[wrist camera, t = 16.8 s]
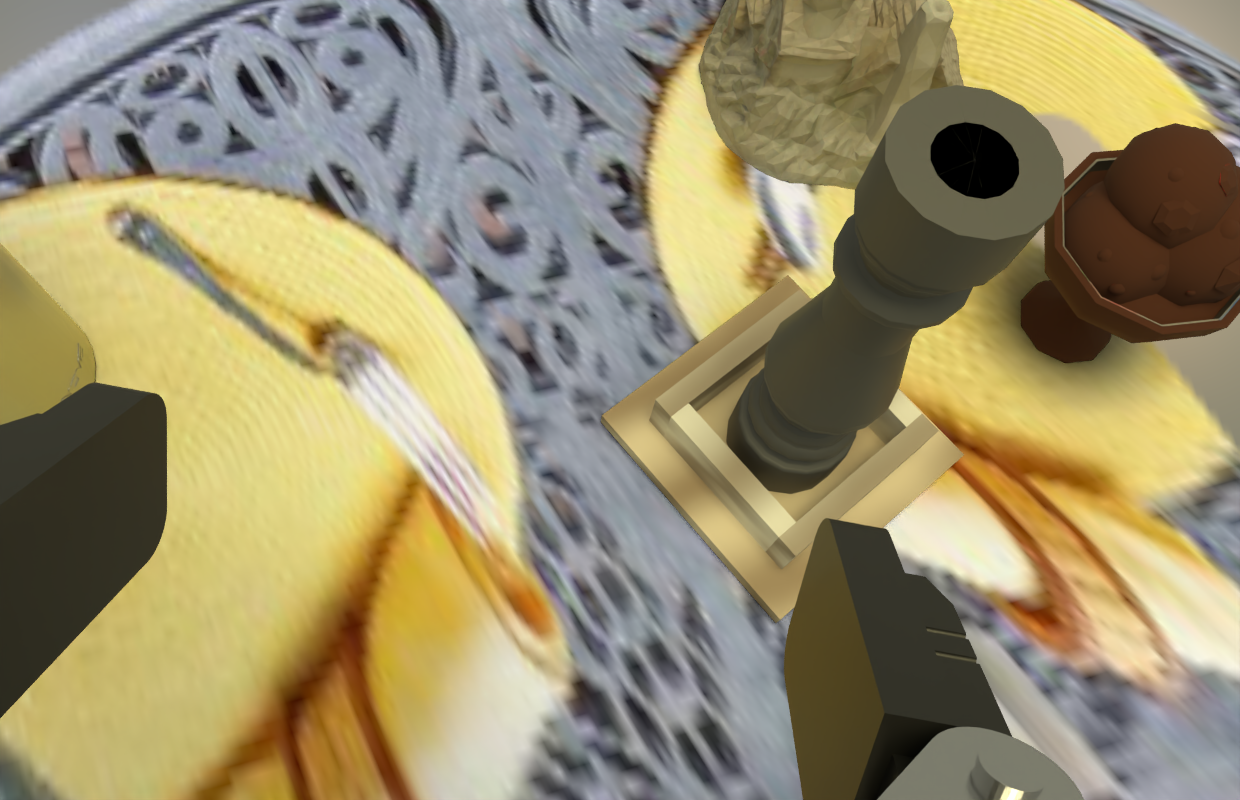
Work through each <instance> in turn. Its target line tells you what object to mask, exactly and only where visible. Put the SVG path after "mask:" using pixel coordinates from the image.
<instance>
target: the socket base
mask: <svg viewBox="0 0 1240 800" xmlns="http://www.w3.org/2000/svg"><path fill="white" fill-rule="evenodd" d="M811 300H812V299H811V298H810V297H809V296H808V295H807V294H806V293H805V292H804V291H803V290H802V289H801V288H800V287H799V286H798V285H797V284H796V283H795V282H794V281H793V280H792V279H791V278H790V277H789V276H786V277H785V278H784V279H782V280H781V281H780V282H778V283H777V284H776V285H774V286H773V287H772V288H770V289H769V290H768V291H766V292H765V293H764V294H762V295H761V296H760V297H758V298H757V299H756V300H755V301H753V302H752V303H751V304H749V305H748V306H747V307H745V308H744V309H743V310H741V311H740V312H739V313H737V314H736V315H735V316H733V317H732V318H731V319H729V320H728V321H727V322H725V323H724V324H723V325H721V326H720V327H719V328H717V329H716V330H715V331H713V332H712V333H711V334H709V335H708V336H707V337H705V338H704V339H703V340H701V341H700V342H699V343H697V344H696V345H695V346H693V347H692V348H691V349H689V350H688V351H687V352H686V353H684V354H683V355H682V356H680V357H679V358H678V359H676V360H675V361H674V362H672V363H671V364H670V365H668V366H667V367H666V368H664V369H663V370H662V371H660V372H659V373H658V374H656V375H655V376H654V377H652V378H651V379H650V380H648V381H647V382H646V383H644V384H643V385H642V386H640V387H639V388H638V389H636V390H635V391H634V392H632V393H631V394H630V395H628V396H627V397H626V398H624V399H623V400H622V401H621V402H619V403H618V404H617V405H615V406H614V407H613V408H611V409H610V410H609V411H607V412H606V413H605V414H603V415H602V418H601V423H602V424H603V425H604V426H605V428H606V429H607V430H608V431H609V432H610V433H611V434H612V436H613V437H614V438H615V439H616V440H617V441H618V442H619V444H620V445H621V446H622V447H623V448H624V449H625V451H626V452H627V453H628V454H629V455H630V456H631V457H632V459H633V460H634V461H635V462H636V463H637V464H638V465H639V467H640V468H641V469H642V470H643V471H644V472H645V473H646V475H647V476H648V477H649V478H650V479H651V480H652V482H653V483H654V484H655V485H656V486H657V487H658V488H659V490H660V491H661V492H662V493H663V494H664V495H665V496H666V498H667V499H668V500H669V501H670V502H671V503H672V504H673V506H674V507H675V508H676V509H677V510H678V511H679V513H680V514H681V515H682V516H683V517H684V518H685V519H686V521H687V522H688V523H689V524H690V525H691V526H692V527H693V529H694V530H695V531H696V532H697V533H698V534H699V535H700V537H701V538H702V539H703V540H704V541H705V542H706V544H707V545H708V546H709V547H710V548H711V549H712V550H713V552H714V553H715V554H716V555H717V556H718V557H719V558H720V560H721V561H722V562H723V563H724V564H725V565H726V567H727V568H728V569H729V570H730V571H731V572H732V573H733V575H734V576H735V577H736V578H737V579H738V580H739V581H740V583H741V584H742V585H743V586H744V587H745V588H746V589H747V591H748V592H749V593H750V594H751V595H752V596H753V598H754V599H755V600H756V601H757V602H758V603H759V604H760V606H761V607H762V608H763V609H764V610H765V611H766V612H767V614H768V615H769V616H770V617H771V618H772V619H773V620H774V622H775V623H777V622H778V621H779V620H781V619H782V618H783V617H784V616H785V615H786V614H787V613H788V612H789V611H791V610H792V609H793V608H794V607H795V604H796V601H797V597H798V594H799V591H800V587H801V584H802V580H803V577H804V573H805V570H806V566H807V563H808V559H809V556H810V553H811V549H812V546H813V542H814V539H815V536H816V533H817V530H818V528H819V526H820V524H821V522H822V521H823V520H824V519H825V518H829V519H835V520H840V521H846V522H851V523H857V524H862V525H868V526H873V527H879V528H883V527H884V526H885V525H886V524H887V523H889V522H890V521H891V520H892V519H893V518H894V517H895V516H896V515H898V514H899V513H900V512H901V511H902V510H903V509H904V508H905V507H906V506H908V505H909V504H910V503H911V502H912V501H913V500H914V499H915V498H916V497H918V496H919V495H920V494H921V493H922V492H923V491H924V490H925V489H926V488H928V487H929V486H930V485H931V484H932V483H933V482H934V481H935V480H936V479H938V478H939V477H940V476H941V475H942V474H943V473H944V472H945V471H947V470H948V469H949V468H950V467H951V466H952V465H953V464H954V463H955V462H957V461H958V460H959V459H960V458H961V457H962V456H963V455H964V454H963V453H962V452H961V451H960V450H959V449H958V448H957V447H956V446H955V445H954V444H953V443H952V442H951V441H950V440H949V439H948V438H947V437H946V436H945V435H944V434H943V433H942V432H941V431H940V430H939V429H938V428H937V427H936V426H935V425H934V424H933V423H932V422H931V421H930V420H929V419H928V418H927V417H926V416H925V415H924V413H923V412H922V411H921V410H920V409H919V408H918V407H917V406H916V405H915V404H914V403H913V402H912V401H911V400H910V399H909V398H908V397H907V396H906V395H905V394H904V393H903V392H902V391H901V390H900V389H899V388H898V390H897V392H896V394H895V396H894V398H893V400H892V402H891V404H890V406H889V408H888V410H887V411H886V412H885V413H884V414H883V415H881V416H880V417H879V418H877V419H876V420H875V421H873V422H872V423H871V424H870V425H868V426H867V427H866V428H864V429H860V430H858V431H857V433H856V438H855V440H854V442H853V444H852V446H851V448H850V450H849V452H848V454H847V456H846V457H845V458H844V459H843V461H842V462H841V463H840V464H839V465H838V466H837V467H836V468H835V469H834V470H833V472H832V473H831V474H830V475H829V476H828V477H827V478H825V479H824V480H823V481H821V482H820V483H819V484H818V485H816V486H815V487H814V488H812V489H809V490H805V491H801V492H797V493H793V494H786V493H779V492H772V491H768V490H767V489H766V488H765V487H764V486H763V485H762V484H761V483H760V481H759V480H758V479H757V478H756V477H755V476H754V475H753V474H752V473H751V472H750V470H749V469H748V468H747V467H746V466H745V465H744V464H743V463H742V462H741V460H740V459H739V458H738V457H737V456H736V455H735V454H734V453H733V452H732V451H731V449H730V448H729V447H728V445H727V442H726V439H727V428H728V420H729V418H730V416H731V414H732V412H733V410H734V408H735V406H736V404H737V402H738V400H739V398H740V396H741V395H742V393H743V391H744V389H745V388H746V386H747V384H748V382H749V381H750V379H751V378H752V377H754V376H755V375H757V374H758V373H759V372H760V370H761V369H763V368H764V363H765V350H766V347H767V345H768V343H769V342H770V340H771V338H772V336H773V335H774V333H775V331H776V329H777V328H778V326H779V324H780V323H781V322H782V321H784V320H785V319H786V318H788V317H789V316H790V315H792V314H793V313H795V312H796V311H797V310H799V309H800V308H801V307H803V306H804V305H805V304H807V303H808V302H809V301H811Z"/></svg>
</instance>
